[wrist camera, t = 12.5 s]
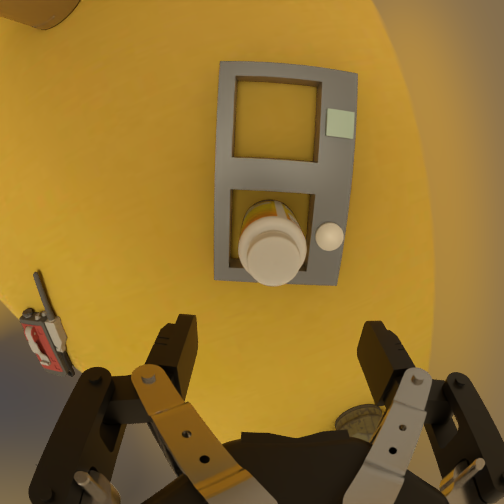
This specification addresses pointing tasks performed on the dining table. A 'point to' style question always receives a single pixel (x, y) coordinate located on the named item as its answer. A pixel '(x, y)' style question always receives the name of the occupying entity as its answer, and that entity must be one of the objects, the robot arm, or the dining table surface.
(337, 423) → the thermos
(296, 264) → the supplement bottle
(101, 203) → the dining table surface
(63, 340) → the walkie-talkie
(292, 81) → the grey flat frame
